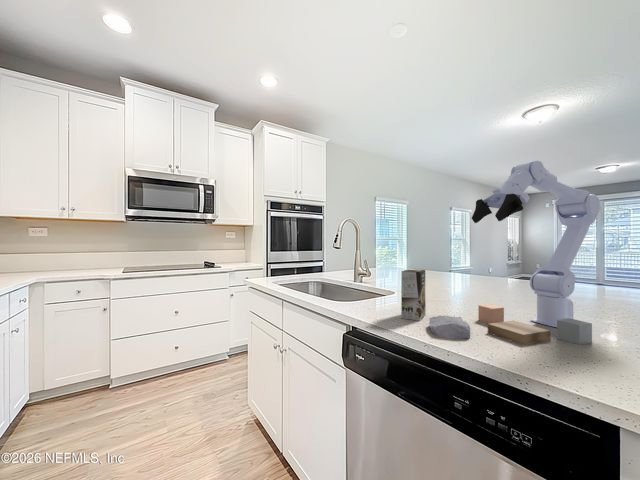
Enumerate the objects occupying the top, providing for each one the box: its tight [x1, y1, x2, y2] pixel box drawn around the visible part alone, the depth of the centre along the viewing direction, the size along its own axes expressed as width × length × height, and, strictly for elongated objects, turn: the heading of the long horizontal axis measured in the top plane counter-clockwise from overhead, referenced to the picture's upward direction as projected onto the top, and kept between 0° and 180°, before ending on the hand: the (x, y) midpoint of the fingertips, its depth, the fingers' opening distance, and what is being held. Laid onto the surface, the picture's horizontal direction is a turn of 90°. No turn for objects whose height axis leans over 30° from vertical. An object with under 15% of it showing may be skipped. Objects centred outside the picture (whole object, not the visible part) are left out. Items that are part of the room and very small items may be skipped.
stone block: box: [429, 315, 471, 340], centre depth 81 cm, size 12×5×10 cm
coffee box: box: [400, 269, 427, 322], centre depth 96 cm, size 9×6×16 cm
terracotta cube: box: [477, 303, 505, 324], centre depth 90 cm, size 5×5×5 cm
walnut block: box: [487, 320, 551, 346], centre depth 76 cm, size 10×10×3 cm
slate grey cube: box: [556, 318, 593, 345], centre depth 73 cm, size 5×5×5 cm
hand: (485, 219), depth 79 cm, fingers open, 7 cm apart
